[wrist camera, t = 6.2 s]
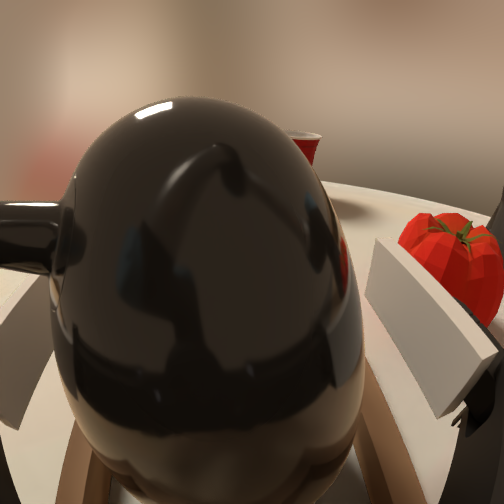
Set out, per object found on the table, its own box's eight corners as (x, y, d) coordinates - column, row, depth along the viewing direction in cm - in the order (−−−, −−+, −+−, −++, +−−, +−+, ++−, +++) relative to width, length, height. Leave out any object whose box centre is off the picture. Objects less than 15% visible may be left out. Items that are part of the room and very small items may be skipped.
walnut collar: (337, 337, 19) (342, 311, 18) (412, 542, 5) (437, 536, 4) (121, 349, 18) (110, 324, 17) (78, 554, 4) (50, 548, 3)
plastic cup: (298, 207, 44) (299, 133, 39) (249, 195, 51) (247, 131, 46) (330, 194, 51) (332, 132, 46) (285, 184, 58) (285, 128, 52)
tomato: (419, 274, 26) (437, 196, 22) (495, 328, 17) (531, 242, 13) (348, 305, 23) (365, 207, 18) (440, 389, 14) (499, 281, 9)
